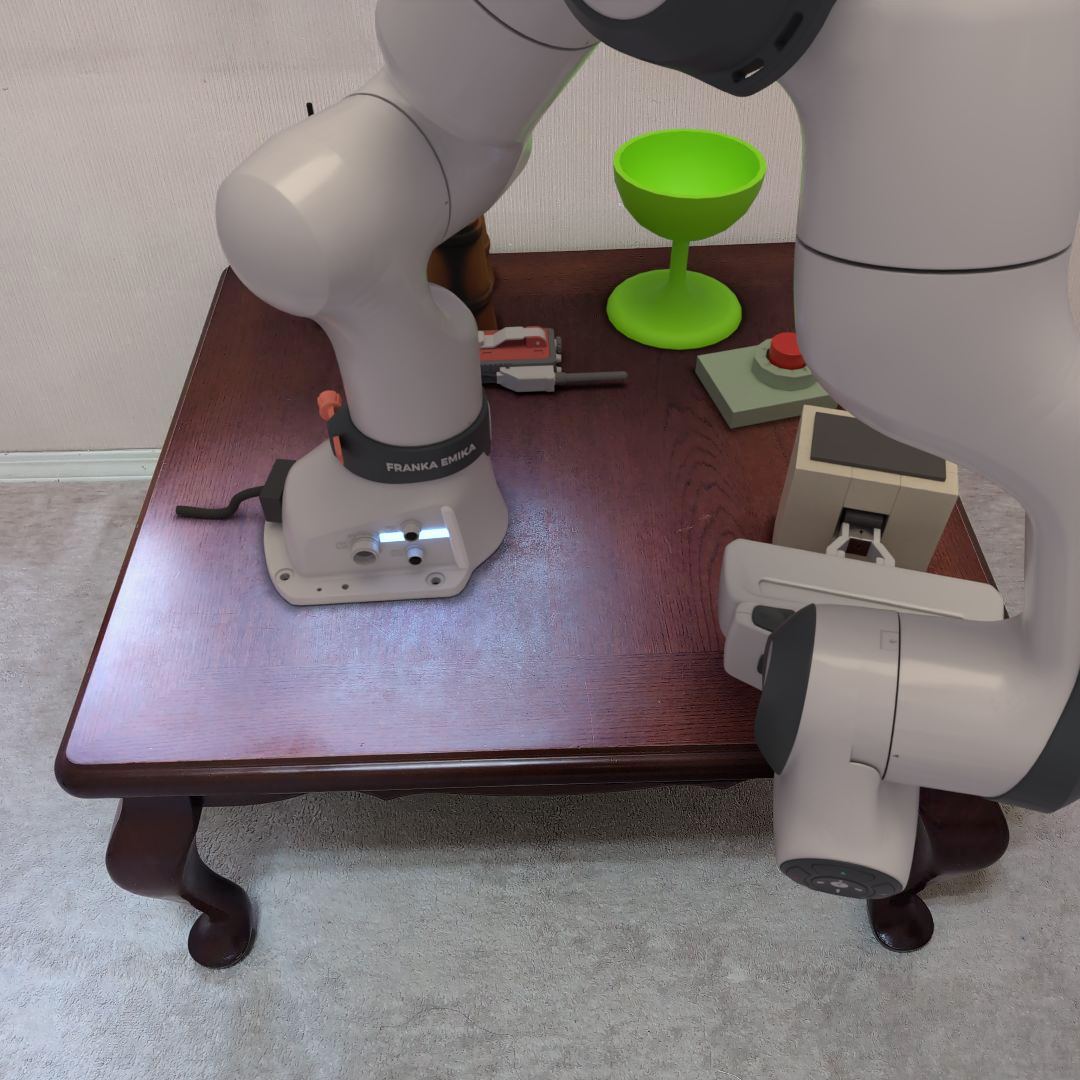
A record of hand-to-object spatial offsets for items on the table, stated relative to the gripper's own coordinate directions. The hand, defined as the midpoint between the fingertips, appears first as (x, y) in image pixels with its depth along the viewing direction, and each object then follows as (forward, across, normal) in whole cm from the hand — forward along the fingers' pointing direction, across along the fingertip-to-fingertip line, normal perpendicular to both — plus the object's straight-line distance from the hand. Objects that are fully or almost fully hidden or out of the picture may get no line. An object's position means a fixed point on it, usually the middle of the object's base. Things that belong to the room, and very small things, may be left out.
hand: (859, 531), depth 75 cm
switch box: (+28, +9, +9) cm, 31 cm away
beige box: (+4, 0, +9) cm, 10 cm away
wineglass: (+41, +21, +9) cm, 47 cm away
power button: (+1, 0, +1) cm, 2 cm away
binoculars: (+36, +46, +9) cm, 59 cm away
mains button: (+29, +7, +5) cm, 30 cm away
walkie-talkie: (+25, +34, +9) cm, 43 cm away
